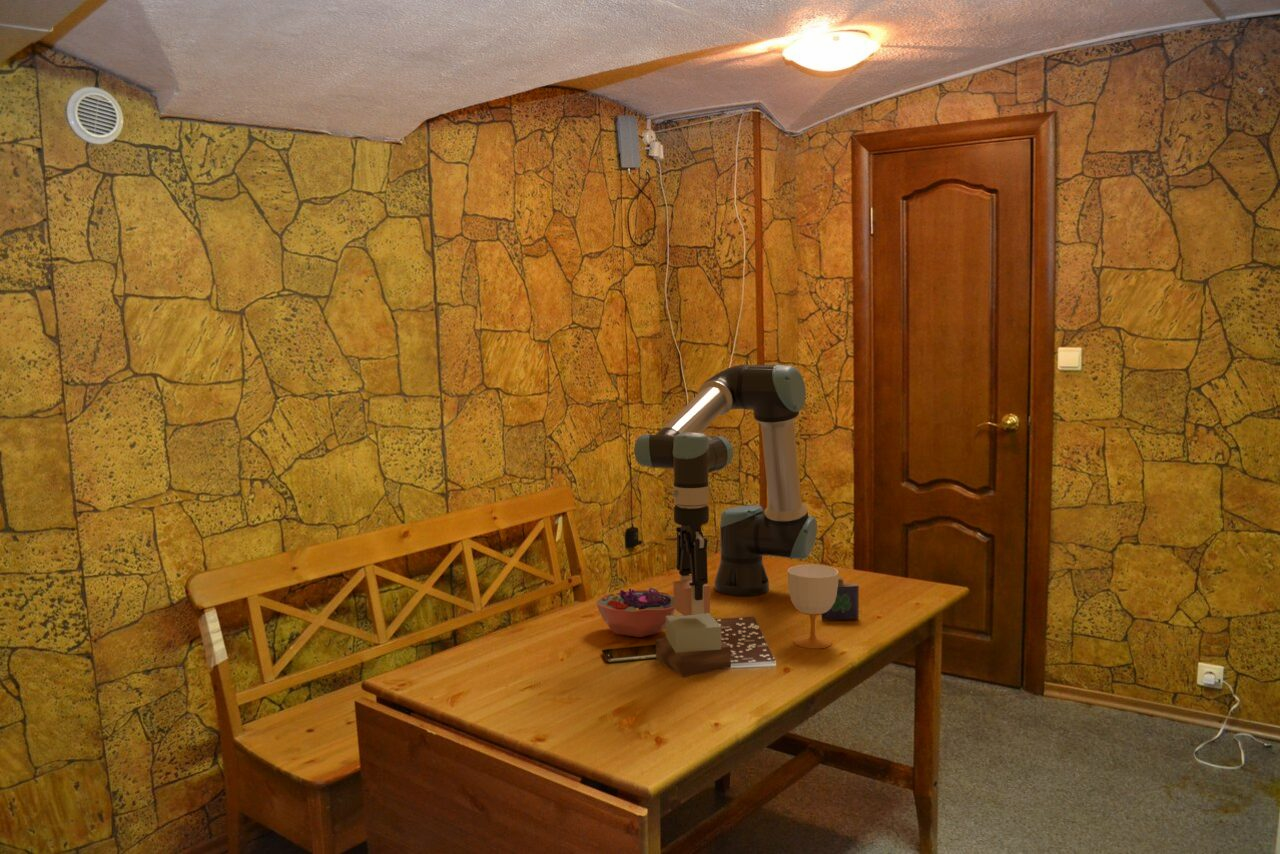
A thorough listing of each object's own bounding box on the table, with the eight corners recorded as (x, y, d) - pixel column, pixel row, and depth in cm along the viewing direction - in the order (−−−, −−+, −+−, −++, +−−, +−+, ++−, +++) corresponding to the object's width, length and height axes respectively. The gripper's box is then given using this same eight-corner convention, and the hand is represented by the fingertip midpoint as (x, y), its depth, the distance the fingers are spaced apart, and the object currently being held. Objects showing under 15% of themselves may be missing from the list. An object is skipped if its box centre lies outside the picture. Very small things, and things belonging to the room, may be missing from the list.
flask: (857, 617, 234) (857, 576, 233) (859, 621, 231) (860, 579, 230) (820, 617, 235) (820, 576, 233) (822, 621, 232) (822, 579, 230)
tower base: (656, 661, 207) (655, 639, 207) (702, 651, 213) (702, 630, 212) (683, 679, 197) (682, 656, 196) (730, 668, 202) (730, 646, 202)
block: (673, 608, 205) (673, 581, 204) (698, 605, 207) (698, 578, 206) (684, 615, 199) (684, 588, 199) (709, 612, 201) (709, 585, 201)
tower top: (666, 637, 208) (665, 615, 207) (709, 634, 210) (709, 612, 209) (675, 652, 198) (675, 630, 198) (721, 649, 200) (721, 626, 199)
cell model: (606, 620, 235) (605, 577, 234) (684, 624, 231) (683, 580, 230) (589, 643, 219) (587, 596, 217) (672, 648, 215) (672, 600, 213)
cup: (848, 641, 217) (848, 569, 215) (820, 654, 208) (821, 580, 207) (805, 630, 225) (805, 561, 223) (777, 643, 216) (777, 571, 215)
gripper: (661, 498, 209) (662, 598, 211) (689, 514, 190) (690, 624, 193) (692, 496, 211) (693, 595, 213) (723, 512, 192) (724, 620, 195)
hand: (692, 608), depth 203 cm, fingers closed on block, 6 cm apart
